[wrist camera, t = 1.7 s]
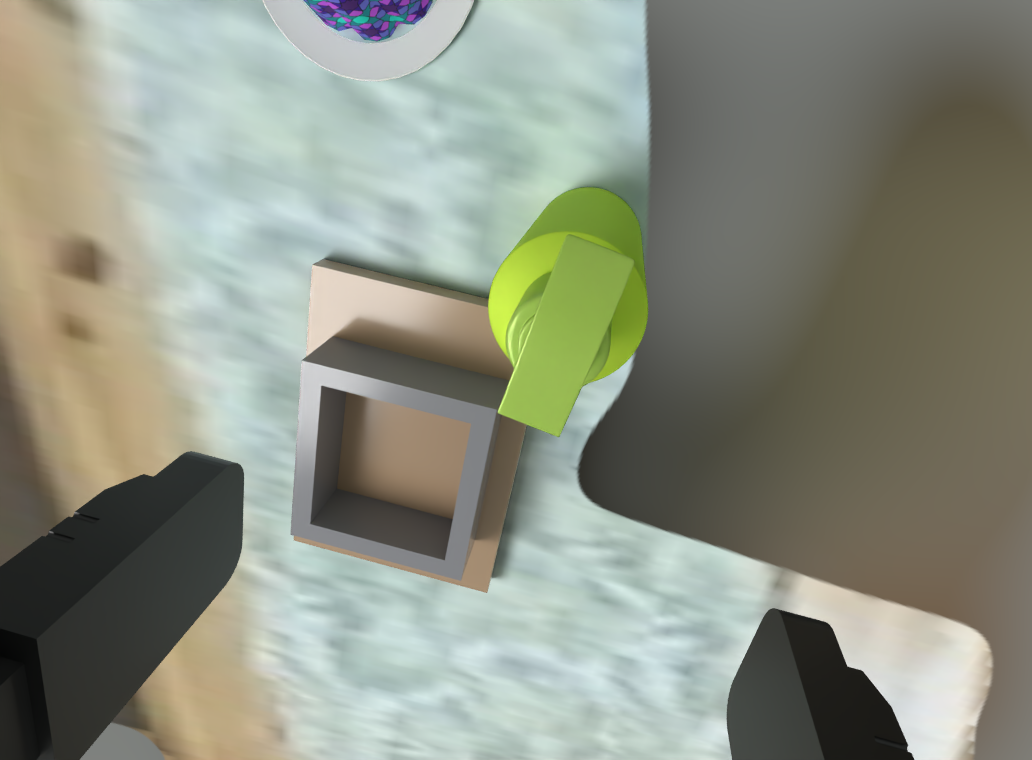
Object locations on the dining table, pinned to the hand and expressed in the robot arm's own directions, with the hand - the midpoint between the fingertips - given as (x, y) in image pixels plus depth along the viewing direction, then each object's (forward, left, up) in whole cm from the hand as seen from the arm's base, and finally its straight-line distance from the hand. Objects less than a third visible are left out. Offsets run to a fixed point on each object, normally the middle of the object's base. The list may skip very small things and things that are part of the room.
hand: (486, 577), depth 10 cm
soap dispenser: (0, 0, -28) cm, 28 cm away
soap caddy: (+15, -8, -28) cm, 33 cm away
